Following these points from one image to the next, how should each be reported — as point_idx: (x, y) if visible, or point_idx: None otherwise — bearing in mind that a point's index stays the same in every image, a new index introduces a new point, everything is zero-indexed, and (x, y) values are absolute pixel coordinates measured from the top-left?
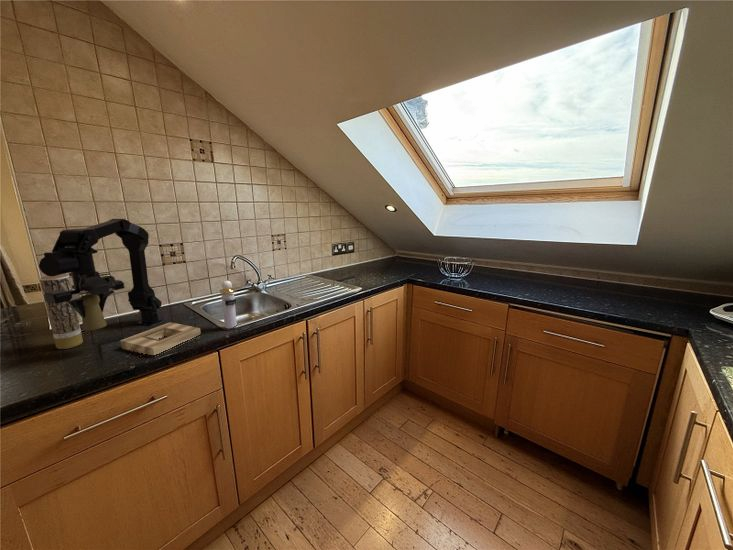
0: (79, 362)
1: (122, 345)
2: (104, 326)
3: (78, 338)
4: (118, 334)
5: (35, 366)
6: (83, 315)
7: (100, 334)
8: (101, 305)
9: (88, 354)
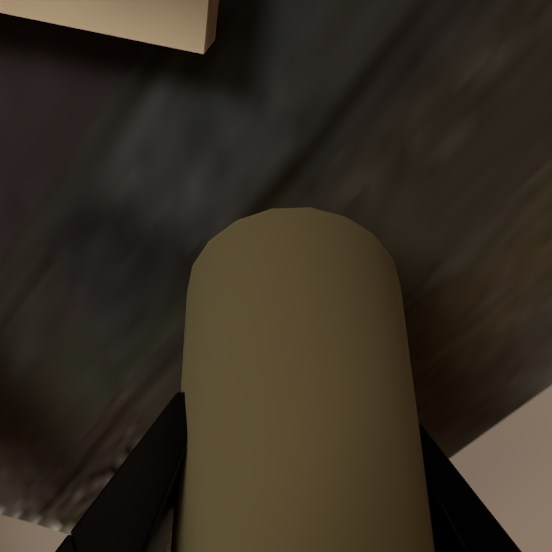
0: (465, 146)
1: (213, 23)
2: (266, 211)
3: None
4: (50, 296)
5: (502, 331)
6: (442, 455)
7: (102, 382)
8: (155, 512)
9: (346, 204)
